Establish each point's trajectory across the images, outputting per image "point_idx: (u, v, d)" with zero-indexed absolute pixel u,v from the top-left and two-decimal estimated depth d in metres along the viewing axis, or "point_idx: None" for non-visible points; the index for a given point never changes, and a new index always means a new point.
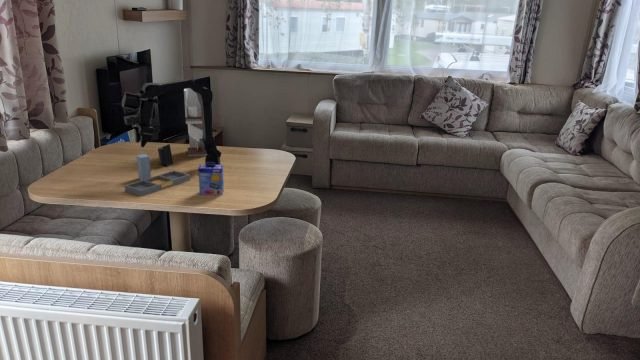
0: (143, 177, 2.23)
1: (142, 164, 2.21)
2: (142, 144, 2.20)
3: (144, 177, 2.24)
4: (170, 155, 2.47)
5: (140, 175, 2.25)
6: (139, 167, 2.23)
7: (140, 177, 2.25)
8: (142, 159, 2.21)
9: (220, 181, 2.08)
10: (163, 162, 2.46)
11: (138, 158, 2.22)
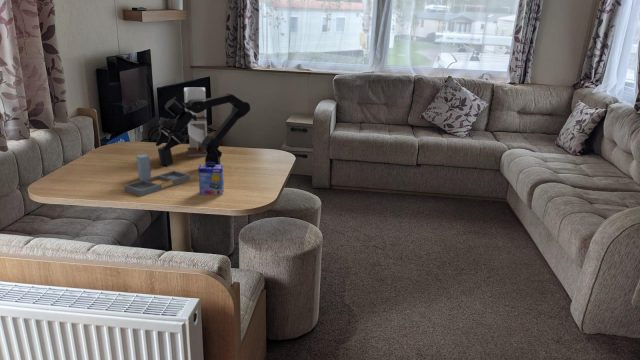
0: (143, 177, 2.23)
1: (142, 164, 2.21)
2: (165, 148, 2.23)
3: (144, 177, 2.24)
4: (170, 155, 2.47)
5: (140, 175, 2.25)
6: (139, 167, 2.23)
7: (140, 177, 2.25)
8: (142, 159, 2.21)
9: (220, 181, 2.08)
10: (163, 162, 2.46)
11: (138, 158, 2.22)
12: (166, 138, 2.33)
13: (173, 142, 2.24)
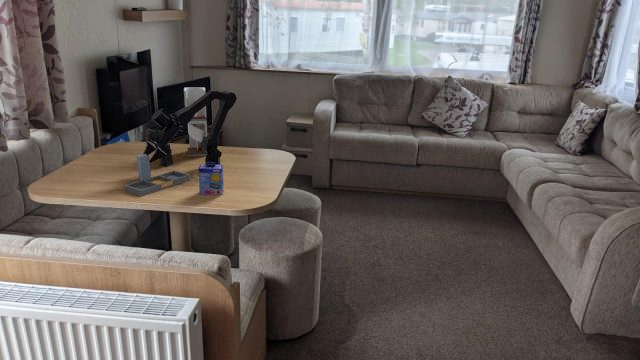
0: (143, 177, 2.23)
1: (142, 164, 2.21)
2: (152, 159, 2.21)
3: (144, 177, 2.24)
4: (170, 155, 2.47)
5: (140, 175, 2.25)
6: (139, 167, 2.23)
7: (140, 177, 2.25)
8: (142, 159, 2.21)
9: (220, 181, 2.08)
10: (163, 162, 2.46)
11: (138, 158, 2.22)
12: (153, 149, 2.30)
13: (160, 154, 2.22)
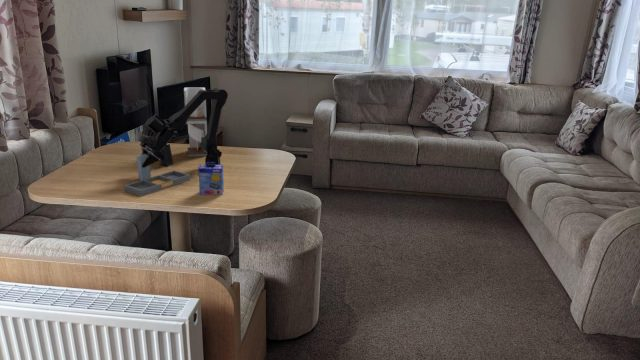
0: (143, 177, 2.23)
1: (141, 164, 2.21)
2: (144, 164, 2.21)
3: (144, 177, 2.24)
4: (170, 155, 2.47)
5: (140, 175, 2.25)
6: (139, 167, 2.23)
7: (140, 177, 2.25)
8: (142, 159, 2.21)
9: (220, 181, 2.08)
10: (163, 162, 2.46)
11: (138, 158, 2.22)
12: None
13: (152, 159, 2.22)
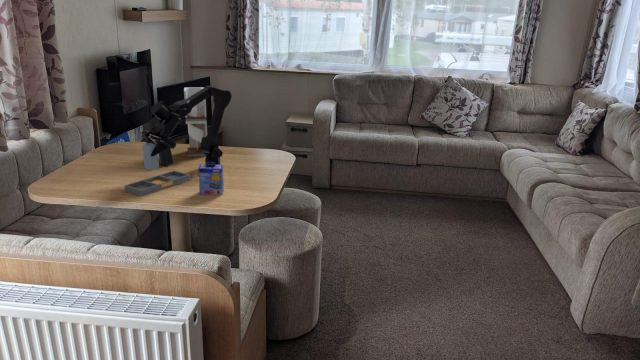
0: (152, 166, 2.16)
1: (150, 153, 2.14)
2: (153, 153, 2.14)
3: (153, 166, 2.17)
4: (170, 155, 2.47)
5: (147, 165, 2.17)
6: (146, 156, 2.16)
7: (148, 167, 2.17)
8: (151, 148, 2.14)
9: (220, 181, 2.08)
10: (163, 162, 2.46)
11: (145, 147, 2.15)
12: None
13: (161, 147, 2.16)
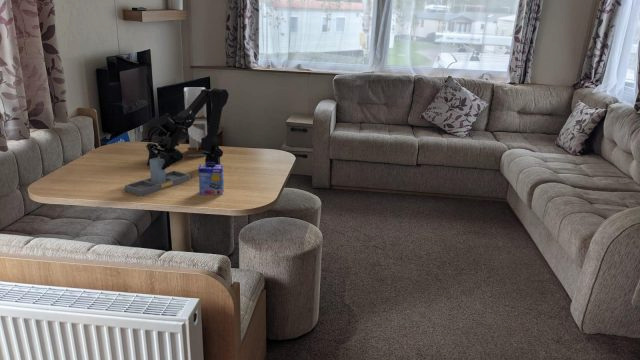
0: (159, 181, 2.16)
1: (158, 168, 2.14)
2: (164, 166, 2.13)
3: (160, 181, 2.16)
4: None
5: (155, 180, 2.17)
6: (154, 171, 2.15)
7: (155, 182, 2.17)
8: (159, 163, 2.14)
9: (220, 181, 2.08)
10: None
11: (153, 162, 2.14)
12: (156, 156, 2.21)
13: (171, 160, 2.15)
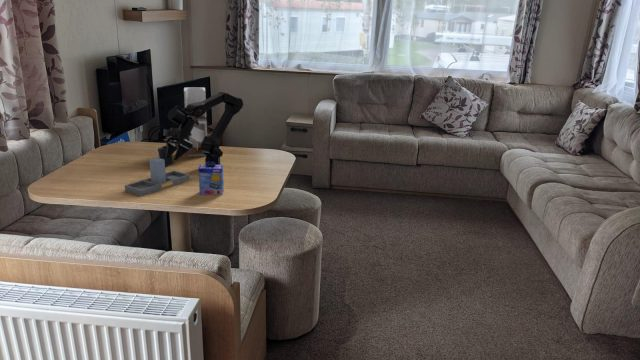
0: (159, 181, 2.16)
1: (158, 168, 2.14)
2: (176, 157, 2.21)
3: (160, 181, 2.16)
4: None
5: (155, 180, 2.17)
6: (154, 171, 2.15)
7: (155, 182, 2.17)
8: (159, 163, 2.14)
9: (220, 181, 2.08)
10: None
11: (153, 162, 2.14)
12: (174, 149, 2.31)
13: (182, 150, 2.22)
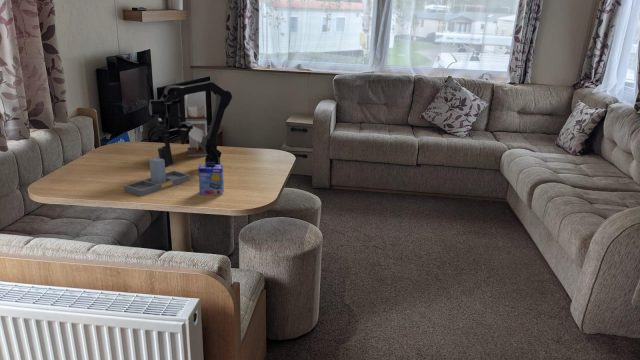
0: (159, 181, 2.16)
1: (158, 168, 2.14)
2: (166, 145, 2.28)
3: (160, 181, 2.16)
4: (170, 155, 2.47)
5: (155, 180, 2.17)
6: (154, 171, 2.15)
7: (155, 182, 2.17)
8: (159, 163, 2.14)
9: (220, 181, 2.08)
10: None
11: (153, 162, 2.14)
12: (185, 133, 2.34)
13: (165, 137, 2.26)
